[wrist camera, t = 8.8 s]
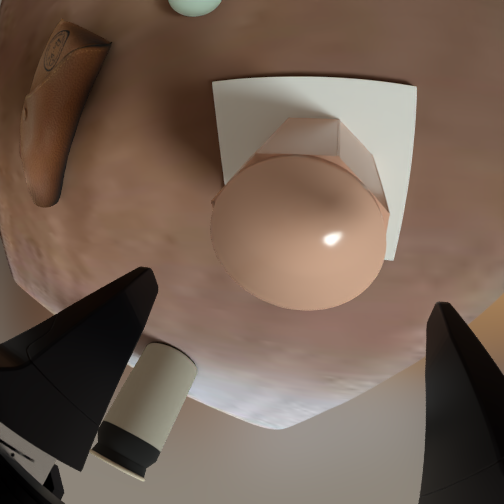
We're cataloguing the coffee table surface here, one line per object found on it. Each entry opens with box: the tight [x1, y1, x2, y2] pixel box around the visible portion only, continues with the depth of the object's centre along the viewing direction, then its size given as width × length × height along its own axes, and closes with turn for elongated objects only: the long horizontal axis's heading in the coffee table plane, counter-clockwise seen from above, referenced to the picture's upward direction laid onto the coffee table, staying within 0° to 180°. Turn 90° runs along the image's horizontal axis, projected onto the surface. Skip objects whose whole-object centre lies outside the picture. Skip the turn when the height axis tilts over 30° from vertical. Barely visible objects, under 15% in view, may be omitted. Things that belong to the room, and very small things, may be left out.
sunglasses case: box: [20, 19, 112, 207], centre depth 19 cm, size 18×7×7 cm
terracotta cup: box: [210, 117, 390, 310], centre depth 14 cm, size 7×7×8 cm
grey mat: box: [212, 76, 417, 260], centre depth 18 cm, size 12×12×1 cm
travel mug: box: [89, 343, 197, 481], centre depth 32 cm, size 8×8×18 cm
